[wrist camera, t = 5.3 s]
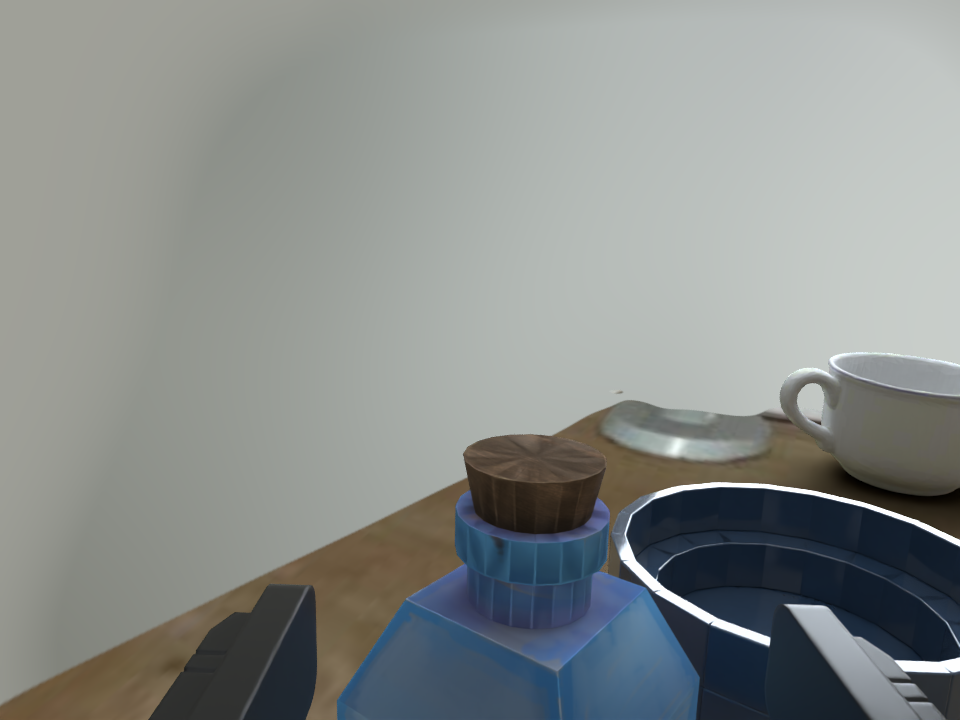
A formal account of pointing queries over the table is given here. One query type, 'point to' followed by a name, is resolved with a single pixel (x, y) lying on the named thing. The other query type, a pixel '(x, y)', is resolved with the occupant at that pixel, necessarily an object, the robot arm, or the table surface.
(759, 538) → the bowl
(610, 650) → the perfume bottle
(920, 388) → the teacup
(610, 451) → the table surface
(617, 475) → the table surface
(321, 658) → the table surface
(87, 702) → the table surface
